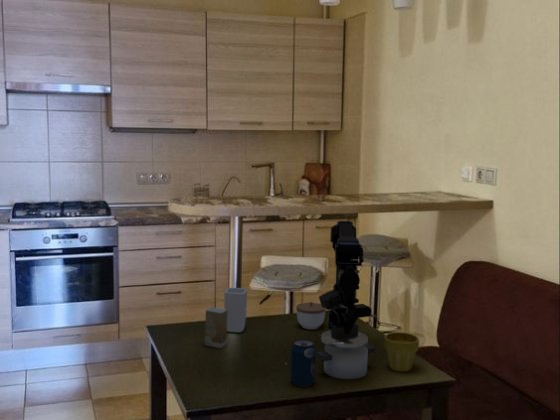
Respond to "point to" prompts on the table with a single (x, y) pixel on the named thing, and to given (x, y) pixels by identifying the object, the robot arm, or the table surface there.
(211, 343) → the skincare box
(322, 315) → the lidded jar
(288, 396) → the table surface
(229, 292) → the cup
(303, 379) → the soda can
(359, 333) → the lid
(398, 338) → the plant pot
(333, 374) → the pot
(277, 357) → the table surface
